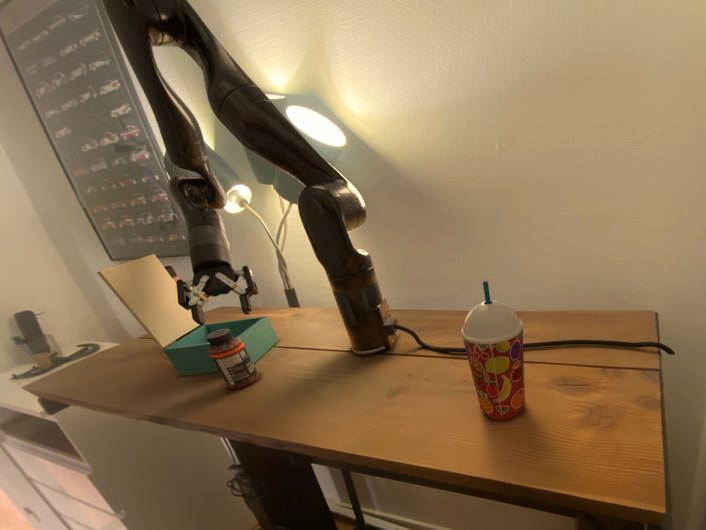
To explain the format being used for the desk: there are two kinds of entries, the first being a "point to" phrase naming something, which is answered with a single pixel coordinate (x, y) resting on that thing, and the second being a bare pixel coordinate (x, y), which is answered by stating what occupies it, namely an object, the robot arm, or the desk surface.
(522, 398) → the smoothie
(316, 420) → the desk surface
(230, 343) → the supplement bottle
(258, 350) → the teal open box
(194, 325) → the lid
